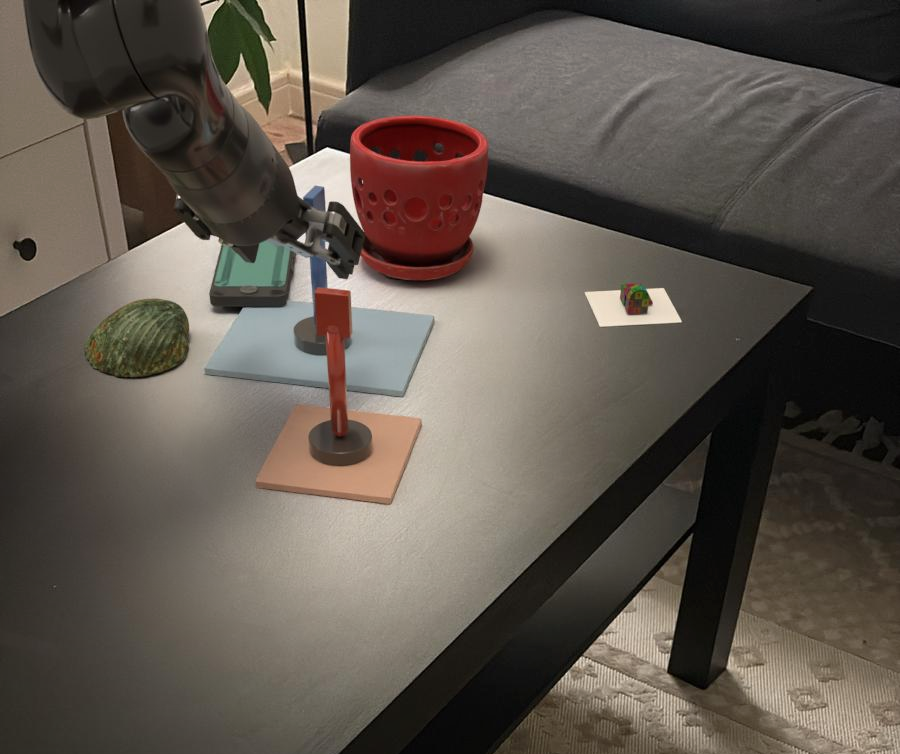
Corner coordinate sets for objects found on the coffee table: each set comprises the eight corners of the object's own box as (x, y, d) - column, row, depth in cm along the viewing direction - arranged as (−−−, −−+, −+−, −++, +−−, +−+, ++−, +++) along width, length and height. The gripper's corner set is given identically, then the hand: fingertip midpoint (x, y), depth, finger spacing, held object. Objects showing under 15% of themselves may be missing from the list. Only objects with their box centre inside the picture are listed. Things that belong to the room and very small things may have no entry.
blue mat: (204, 374, 114) (204, 368, 113) (250, 301, 123) (250, 295, 123) (402, 397, 112) (402, 390, 111) (434, 321, 121) (434, 315, 120)
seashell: (59, 297, 114) (162, 270, 118) (67, 339, 117) (167, 311, 121) (107, 353, 109) (213, 323, 113) (114, 395, 112) (216, 364, 116)
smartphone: (208, 294, 120) (224, 230, 130) (209, 307, 121) (225, 243, 131) (287, 294, 120) (296, 231, 131) (288, 307, 121) (297, 243, 132)
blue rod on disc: (338, 359, 115) (330, 208, 105) (285, 349, 116) (272, 199, 106) (360, 333, 118) (354, 184, 108) (308, 323, 119) (297, 175, 109)
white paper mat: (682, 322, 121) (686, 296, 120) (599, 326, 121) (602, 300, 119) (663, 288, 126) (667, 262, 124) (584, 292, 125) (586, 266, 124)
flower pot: (457, 301, 124) (459, 172, 115) (333, 277, 127) (326, 149, 118) (501, 246, 132) (507, 122, 123) (384, 224, 135) (381, 102, 126)
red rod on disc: (301, 462, 103) (288, 303, 94) (318, 428, 107) (307, 271, 97) (364, 469, 103) (358, 310, 93) (379, 435, 106) (374, 278, 96)
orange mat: (255, 487, 102) (254, 481, 101) (296, 409, 110) (295, 403, 109) (390, 504, 101) (390, 498, 100) (421, 424, 109) (421, 418, 108)
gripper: (329, 131, 91) (389, 228, 106) (148, 104, 94) (232, 202, 109) (305, 236, 91) (368, 317, 107) (126, 206, 94) (213, 290, 110)
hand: (299, 259), depth 108 cm, fingers open, 8 cm apart
